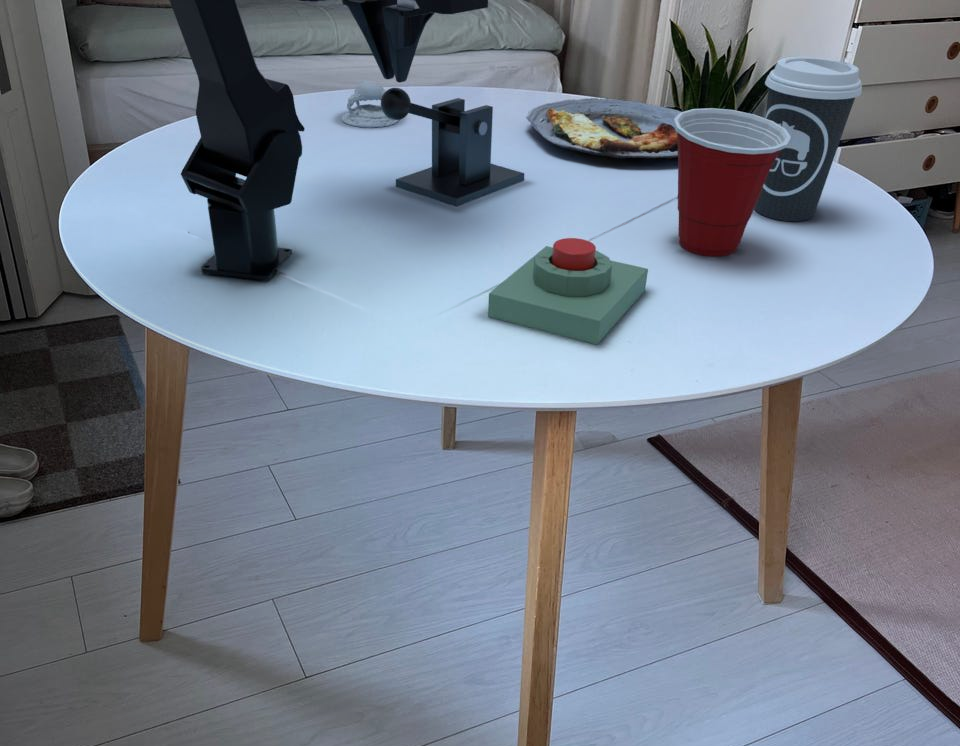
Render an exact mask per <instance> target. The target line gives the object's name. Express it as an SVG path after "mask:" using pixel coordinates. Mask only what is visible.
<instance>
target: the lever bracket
mask: <svg viewBox="0 0 960 746" xmlns="http://www.w3.org/2000/svg"><path fill="white" fill-rule="evenodd" d="M465 101H466V99H464V98H460V97H457V98H452V99H449V100H445V101H442V102H438V103H435V104H432V105H431V109H434V110H437V111H441V112H444V113H447V114H448V112H449V108H450V107H451V108H454V109H458V110H462V111H464V112H460V134H456V133H453V132H449V131H445V130H444V129H445V125H446V123H442V122H439V121H435V120H431V166H430V167H427V168H425V169H422V170H419V171H416V172H413V173H410V174H406V175H405V176H404V175H403V176H401V177H398V178H395V187H396V188H399V189H402V190H405V191H408V192H411V193H414V194H417V195H420V196H423V197H426V198H429V199H433V200H435V201H439V202H442V203H444V204H447V205H450V206H454V207H459V206H462V205H464V204H466V203H467V204H468V203H469V202H472V201H475V200H478V199H480V198H482V197H485V196H487V195H490V194H492V193H495V192H498V191H500V190H503V189H505V188H508V187H511V186H513V185H516V184H519V183H521V182H524V181H525V172H521V171H518V170H514V169H512V168H508V167H505V166H501V165H498V164H495V163H492V161H491V160H492V141H493V140H492V138H493V117H494V116H493V114H494V113H493V111H494V106H492V105H488V104H485V105H482V106H478V107H474V108H471V109H468V110H466V108H465V107H466V105H465V103H466V102H465Z"/></svg>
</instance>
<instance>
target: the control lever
mask: <svg viewBox="0 0 960 746" xmlns="http://www.w3.org/2000/svg"><path fill="white" fill-rule="evenodd" d="M385 91H386V92H385V93H384V94H383V96H382V98H381V100H380V105H381V108H382V111H383V113H384V114H385V115H386V116H387V117H388V118H390V119H392V120H399V121H400V120H404V118H407V116H408V115H409V114H410V115H414V116H417V117H420V118H421V117H422V118H425V119H428V120H431V121H432V120H435V121H439V122H442V123H446V125H445V129H444V130H445V131H449V132H453V133H456V134H460V112H464V111H462V110H458V109H454V108H451V107H450V108H449V112H448V114H447V113H444V112H441V111H437V110H434V109H432V108H430V107H427V106H424V105H421V104H416V103H413V102H411V98H410V96H409V94H408V93H407V92H406V90H404V89H402V88H400V87H391V88H388V89H386V90H385Z"/></svg>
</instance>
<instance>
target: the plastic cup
mask: <svg viewBox="0 0 960 746" xmlns="http://www.w3.org/2000/svg"><path fill="white" fill-rule="evenodd" d="M680 112H681V113H679V114H678V115H677V116H676V118H675V119H674V125H675V128H676V131H677V143H678V157H677V158H678V159H677V160H678V161H677V211H678V231H677V232H678V239H679V245H680V247H681V248H683V249H684V250H685V251H686V252H689V253H692V254H694V255H698V256H704V257H715V258H717V257H718V258H719V257H727V256H730V255H732V254H735V252H736V251H737V248H738V247H739V245H740V243H741V241H742V238H743V236H744V233H745V230H746V228H747V225H748V222H749V221H750V219H751V217H752V215H753V213H754V211H755V209H754V208H755V205H756V203H757V200H758V198H759V195H760V193H761V190H762V188H763V185H764V183H765V180H766V178H767V175H768V173H769V171H770V169H771V167H772V165H773V163H774V161H775V160H776V158H777V156H778V154H779V153H780V151H781V150H782V149H784V148H785V147H786V145H787V144H788V142H789V140H790V138H791V137H790V135H789V133H788V132H787V130H786V129H785V128H783V127H781V126H780V125H778V124H777V123H775V122H773V121H771V120H768V119H765V117H762V116H759V115H757V114H754V113H749V112H744V111H739V110H734V109H728V108H727V109H726V108H714V107H710V108H707V107H706V108H692V109H689V110H685V111H680Z"/></svg>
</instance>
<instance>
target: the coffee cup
mask: <svg viewBox="0 0 960 746" xmlns="http://www.w3.org/2000/svg"><path fill="white" fill-rule="evenodd" d="M859 69H860V68H859V67H857V66H856V65H854V64H852V63H849V62H846V61H842V60H839V59H832V58H826V57H816V56H790V57H789V56H788V57H783V58H780V59H778V60H777V62H776V65H775V66H774V69H772V70H771V71H770V72H769V74H768V75H767V76H766V78H765V81H764V85H765V86H766V87H767V88H768V90H767V100H766V108H765V117H764V118H765V119H768V120H771V121H773V122H775V123H777V124H778V125H780V126H781V127H783V128H785V129H786V130H787V132H788V133H789V135H790V137H791V138H790V140H789V142H788V144H787V145H786V147H785V148H784V149H782V150H781V151H780V153H779V154H778V156H777V158H776V160H775V161H774V163H773V165H772V167H771V169H770V171H769V173H768V175H767V178H766V180H765V183H764V185H763V188H762V190H761V193H760V195H759V198H758V200H757V203H756V205H755V208H754V211H755V212H756V213H758V214H759V215H761V216H763V217H766V218H769V219H772V220H776V221H782V222H783V221H784V222H804V221H809V220H811V219H812V218H814V217H815V214H816V211H817V208H818V205H819V202H820V200H821V197H822V195H823V194H822V193H823V191H824V188H825V185H826V182H827V179H828V177H829V173H830V171H831V168H832V165H833V162H834V160H835V156H836V153H837V150H838V149H839V148H838V147H839V144H840V142H841V139H842V137H843V134H844V130H845V127H846V125H847V122H848V119H849V116H850V113H851V111H852V108H853V106H854V103H855V100H856V98H857V97H859V96H861V95H862V93H863V85H862V80H861V79H860V78H859V76H860V70H859Z"/></svg>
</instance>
